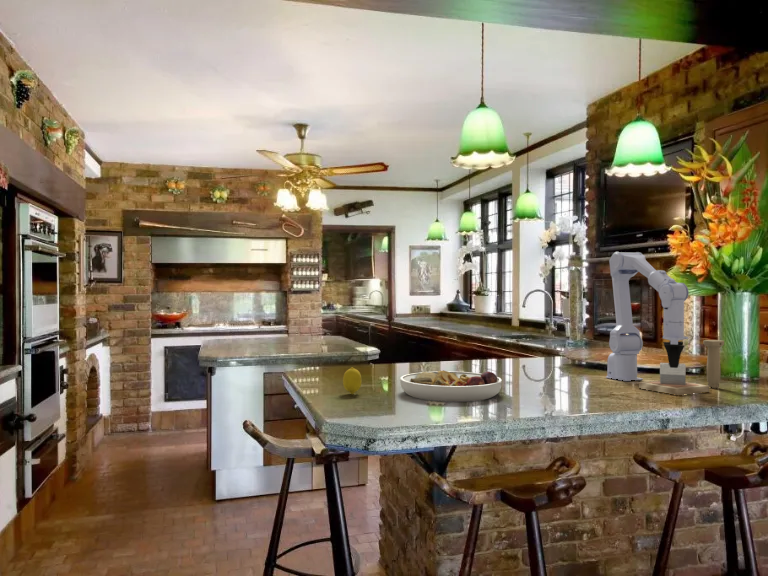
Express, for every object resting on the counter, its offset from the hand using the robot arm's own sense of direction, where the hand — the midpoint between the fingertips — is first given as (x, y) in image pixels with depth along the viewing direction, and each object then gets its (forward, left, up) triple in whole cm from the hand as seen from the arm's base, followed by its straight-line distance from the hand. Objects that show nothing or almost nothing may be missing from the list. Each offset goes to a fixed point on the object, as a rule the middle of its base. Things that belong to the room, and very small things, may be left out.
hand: (673, 366), depth 188 cm
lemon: (-37, -92, -8) cm, 99 cm away
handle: (+2, +16, -8) cm, 18 cm away
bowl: (-25, -65, -8) cm, 70 cm away
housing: (0, 0, -5) cm, 5 cm away
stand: (0, 0, -8) cm, 8 cm away
